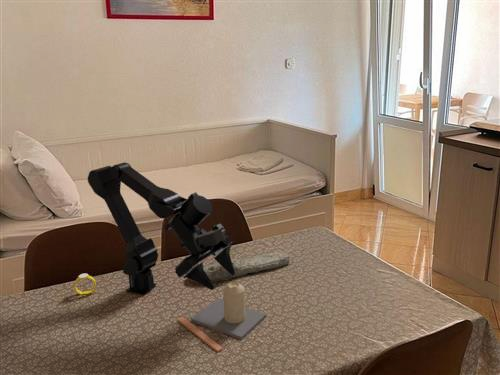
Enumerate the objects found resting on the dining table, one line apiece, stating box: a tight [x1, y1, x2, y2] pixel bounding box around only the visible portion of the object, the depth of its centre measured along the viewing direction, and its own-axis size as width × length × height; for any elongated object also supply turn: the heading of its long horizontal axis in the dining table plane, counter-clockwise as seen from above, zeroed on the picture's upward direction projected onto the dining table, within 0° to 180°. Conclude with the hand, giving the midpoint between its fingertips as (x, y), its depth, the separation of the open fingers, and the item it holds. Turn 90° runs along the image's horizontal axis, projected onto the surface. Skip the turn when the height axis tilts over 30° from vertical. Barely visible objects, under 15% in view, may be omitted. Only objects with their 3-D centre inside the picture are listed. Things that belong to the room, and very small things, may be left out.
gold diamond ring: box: [73, 272, 97, 296], centre depth 141 cm, size 6×3×6 cm, turn 105°
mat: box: [190, 298, 267, 340], centre depth 127 cm, size 16×12×1 cm
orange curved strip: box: [177, 316, 224, 353], centre depth 120 cm, size 18×2×1 cm, turn 40°
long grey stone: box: [188, 252, 290, 284], centre depth 153 cm, size 35×5×10 cm
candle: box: [222, 281, 246, 324], centre depth 124 cm, size 6×6×10 cm
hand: (224, 281), depth 124 cm, fingers open, 9 cm apart
